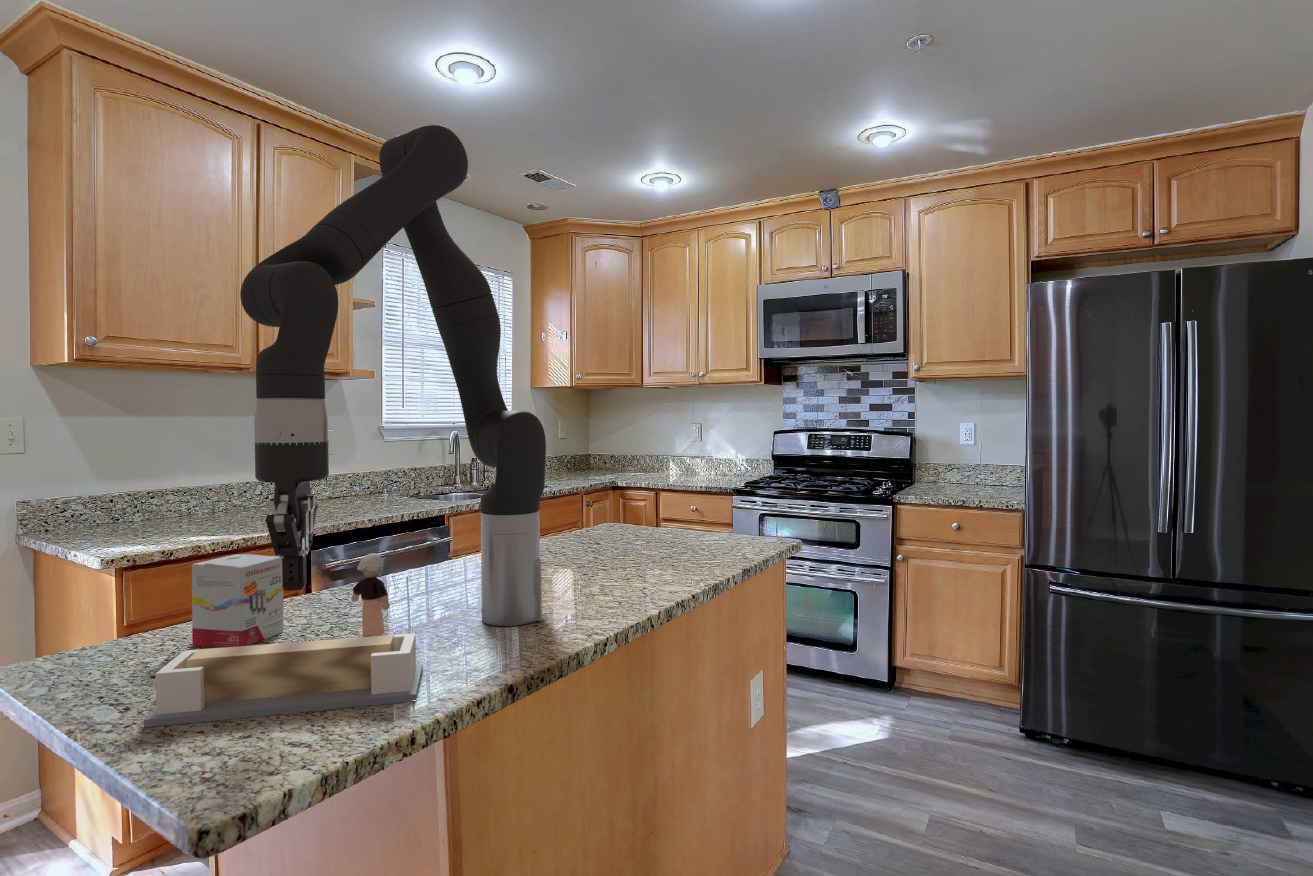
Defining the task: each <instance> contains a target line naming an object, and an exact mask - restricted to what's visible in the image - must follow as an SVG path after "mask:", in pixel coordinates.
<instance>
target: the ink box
mask: <svg viewBox="0 0 1313 876" xmlns="http://www.w3.org/2000/svg"><path fill="white" fill-rule="evenodd" d="M191 619H192V620H191V624H192V625H191V628H192V629H191V630H192V631H191V635H192V636H191V637H192V638H191V639H192V640H191V641H192V645H193V646H195V647H209V648H226V647H239V646H252V645H257V644H258V643H261V642H262V641H265V640H268V639H269V638H270V639H271V638H272V637H274V636H277V635H279V634H282V633H283V632H284V626H285V625H284V589H283V585H282V558H280V556H279V555H277V556H276V555H260V554H253V553H251V554H250V553H245V554H244V553H243V554H242V553H241V554H240V553H237V554H231V555H227V556H223V557H218V558H215V559H210V560H209V559H208V560H205V561H204V560H203V561H201V562H200V561H199V562H196V563H192V565H191Z"/></svg>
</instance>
